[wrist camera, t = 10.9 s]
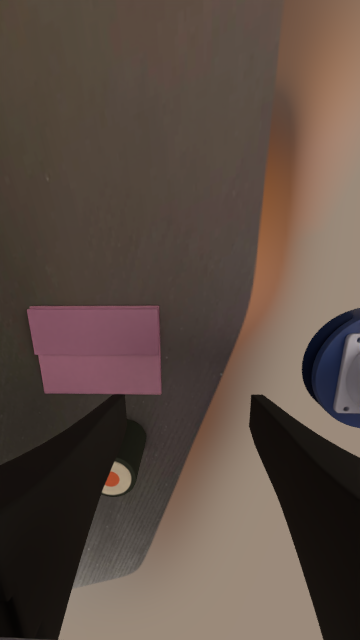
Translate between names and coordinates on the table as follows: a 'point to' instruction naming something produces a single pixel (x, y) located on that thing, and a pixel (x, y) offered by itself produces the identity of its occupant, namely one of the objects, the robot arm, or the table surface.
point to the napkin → (97, 348)
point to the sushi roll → (126, 462)
